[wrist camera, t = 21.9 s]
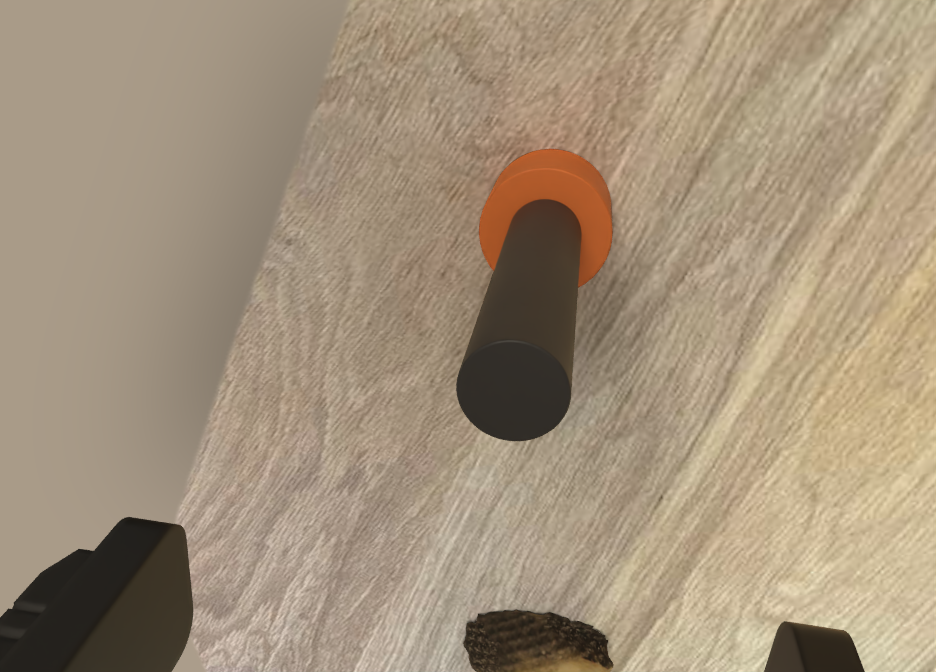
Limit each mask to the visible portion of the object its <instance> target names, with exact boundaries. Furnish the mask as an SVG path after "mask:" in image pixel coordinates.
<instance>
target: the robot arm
mask: <svg viewBox="0 0 936 672" xmlns="http://www.w3.org/2000/svg"><path fill="white" fill-rule="evenodd" d="M192 620H193V600H192V590H191V580H190V569H189V559H188V549H187V539H186V533H185V530H184V529H183V527H182V526H181V525H177V524H171V523H164V522H158V521H151V520H145V519H138V518H132V517H127V518H124V519H122V520H121V521H119V522H118V523H117V525H116V526H115V527H114V528H113V529H112V530H111V532H110V533H109V534H108V535H107V536H106V537H105V539H104V540H103V541H102V542H101V543H100V544H99V546H98V547H97V548H96V549H95V551H90V550H83V549H78V550H76V551H75V552H73V553H72V554H70V555H68V556H67V557H65V558H64V559H62V560H60V561H59V562H57V563H56V564H54V565H52V566H51V567H49V568H48V569H46V570H44V571H43V572H41V573H40V574H39V576H38V577H37V578H36V579H35V580H34V581H33V582H32V583H31V584H30V585H29V586H28V588H27V589H26V590H25V591H24V592H23V593H22V594H21V595H20V596H19V598H18V599H17V600H16V601H15V602H14V606H13V608H12V609H8V610H7V611H6V612H5V613H4V614H3V615H2V616H1V617H0V672H172V670H173V669H174V667H175V665H176V663H177V662H178V660H179V658H180V657H181V655H182V653H183V651H184V649H185V646H186V644H187V641H188V638H189V634H190V630H191V626H192ZM764 672H865V671H864V669H863V666H862V664H861V661H860V658H859V656H858V653H857V650H856V648H855V645H854V643H853V640H852V638H851V637H850V635H849V634H848V633H847V632H846V631H844V630H838V629H831V628H825V627H818V626H812V625H806V624H799V623H793V622H783V623H781V625H780V626H779V628H778V630H777V633H776V636H775V639H774V642H773V645H772V648H771V652H770V655H769V658H768V661H767V664H766V667H765V670H764Z"/></svg>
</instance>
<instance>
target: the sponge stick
mask: <svg viewBox="0 0 936 672" xmlns="http://www.w3.org/2000/svg"><path fill="white" fill-rule="evenodd" d="M612 234H613V231H612V211H611V199H610V193H609V191H608V188H607V185H606V183H605V181H604V179H603V178H602V176H601V175H600V173H599V172H598V171H597V170H596V168H595V167H594V166H593V165H591V164H590V163H589V162H588V161H586V160H585V159H583V158H582V157H580V156H578V155H576V154H574V153H571V152H568V151H564V150H558V149H544V150H538V151H533V152H530V153H528V154H525V155H523V156H521V157H519V158H518V159H516V160H515V161H513V162H512V163H511V164H510V165H509V166H507V167H506V168H505V170H504V171H503V172H502V173H501V174H500V176H499V178H498V179H497V181H496V183H495V185H494V187H493V189H492V191H491V193H490V196H489V198H488V200H487V202H486V204H485V206H484V208H483V211H482V215H481V218H480V225H479V237H480V244H481V248H482V251H483V254H484V256H485V259H486V260H487V262H488V264H489V266H490V267H491V268H492V270H493V271H494V272H493V275H492V278H491V281H490V284H489V286H488V289H487V292H486V295H485V298H484V301H483V304H482V307H481V310H480V313H479V316H478V318H477V321H476V324H475V327H474V330H473V333H472V336H471V339H470V342H469V345H468V347H467V350H466V353H465V356H464V359H463V362H462V365H461V368H460V371H459V374H458V377H457V384H456V391H457V397H458V401H459V404H460V406H461V408H462V410H463V412H464V414H465V415H466V417H467V418H468V419H469V420H470V422H472V423H473V424H474V425H475V426H476V427H477V428H478V429H480V430H481V431H483V432H484V433H486V434H488V435H490V436H493V437H495V438H498V439H502V440H507V441H526V440H531V439H535V438H538V437H540V436H543V435H544V434H546V433H548V432H549V431H551V430H552V429H554V428H555V427H556V426H557V425H558V424H559V423H560V422H561V420H562V419H563V418H564V416H565V414H566V413H567V410H568V408H569V405H570V400H571V387H572V372H573V357H574V342H575V327H576V311H577V296H578V288H579V287H580V286H582V285H584V284H585V283H587V282H588V281H589V280H590V279H592V278H593V277H594V276H595V274H596V273H597V272H598V271H599V270H600V268H601V267H602V266H603V264H604V262H605V260H606V259H607V256H608V254H609V251H610V247H611V243H612Z"/></svg>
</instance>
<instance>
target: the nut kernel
mask: <svg viewBox="0 0 936 672" xmlns="http://www.w3.org/2000/svg"><path fill="white" fill-rule="evenodd" d="M592 628H593V626H590V625H586V624H584V623H581V622H579V621H577V622H572V623H571V622H570V621H569V619H568V618H564V617H561V616H558V615H555V614H553V613H547V614H544V615H537V614H534V613H531V612H529V611H528V612H521V611H518V610H515V611H506V610H505V611H503V612H491V613H487V614H485V615H481V614H478V617H477V621H476V624H475V623H473V622H470V623H467V627H466V638H465V641H464V643H463V644H464V647H465V648H466V650H467V652H468V654H469V661H470V664H471V666H472V668H473V669H474V670H475V671H477V672H610V671H611V669H612V668H613V663H612V661H611V660H610V658H609V656H608V651H607V643H608V640H605V638H604V637H605V635H602V634H601V633H599V632H598V631H596V630H593V629H592Z"/></svg>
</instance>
